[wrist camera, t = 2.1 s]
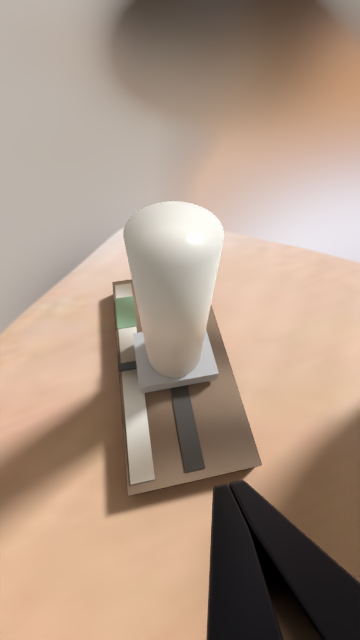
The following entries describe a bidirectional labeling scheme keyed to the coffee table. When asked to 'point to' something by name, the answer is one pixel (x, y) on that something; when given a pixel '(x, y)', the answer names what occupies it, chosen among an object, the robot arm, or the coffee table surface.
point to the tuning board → (179, 415)
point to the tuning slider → (173, 292)
